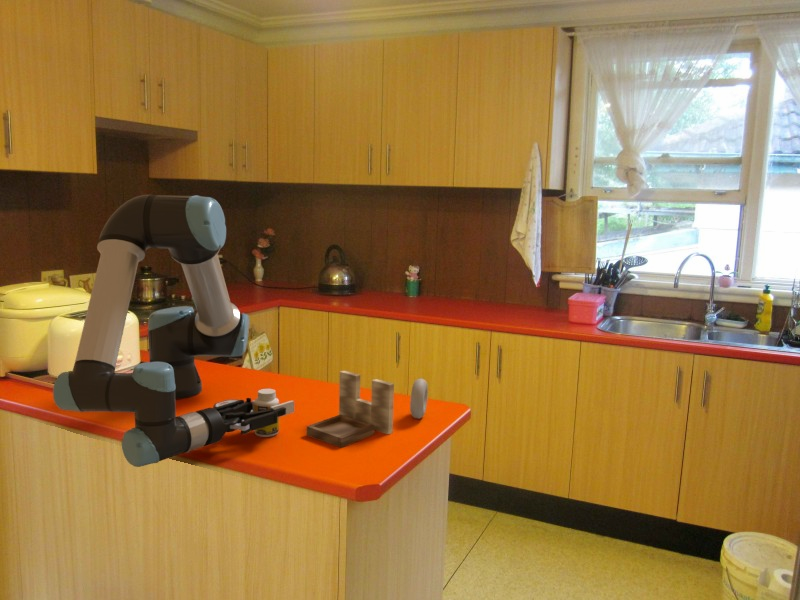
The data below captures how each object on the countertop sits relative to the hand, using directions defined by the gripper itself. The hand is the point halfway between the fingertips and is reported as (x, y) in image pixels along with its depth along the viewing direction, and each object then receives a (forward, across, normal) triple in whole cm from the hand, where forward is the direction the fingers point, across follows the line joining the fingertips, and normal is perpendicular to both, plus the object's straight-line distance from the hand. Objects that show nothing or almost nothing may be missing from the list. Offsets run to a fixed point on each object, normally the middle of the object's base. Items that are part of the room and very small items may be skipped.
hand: (283, 403), depth 154 cm
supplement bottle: (-5, 0, -6) cm, 8 cm away
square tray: (+6, +13, -6) cm, 15 cm away
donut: (+28, +19, -6) cm, 34 cm away
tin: (-7, -13, -4) cm, 15 cm away
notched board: (+14, +13, -6) cm, 20 cm away
